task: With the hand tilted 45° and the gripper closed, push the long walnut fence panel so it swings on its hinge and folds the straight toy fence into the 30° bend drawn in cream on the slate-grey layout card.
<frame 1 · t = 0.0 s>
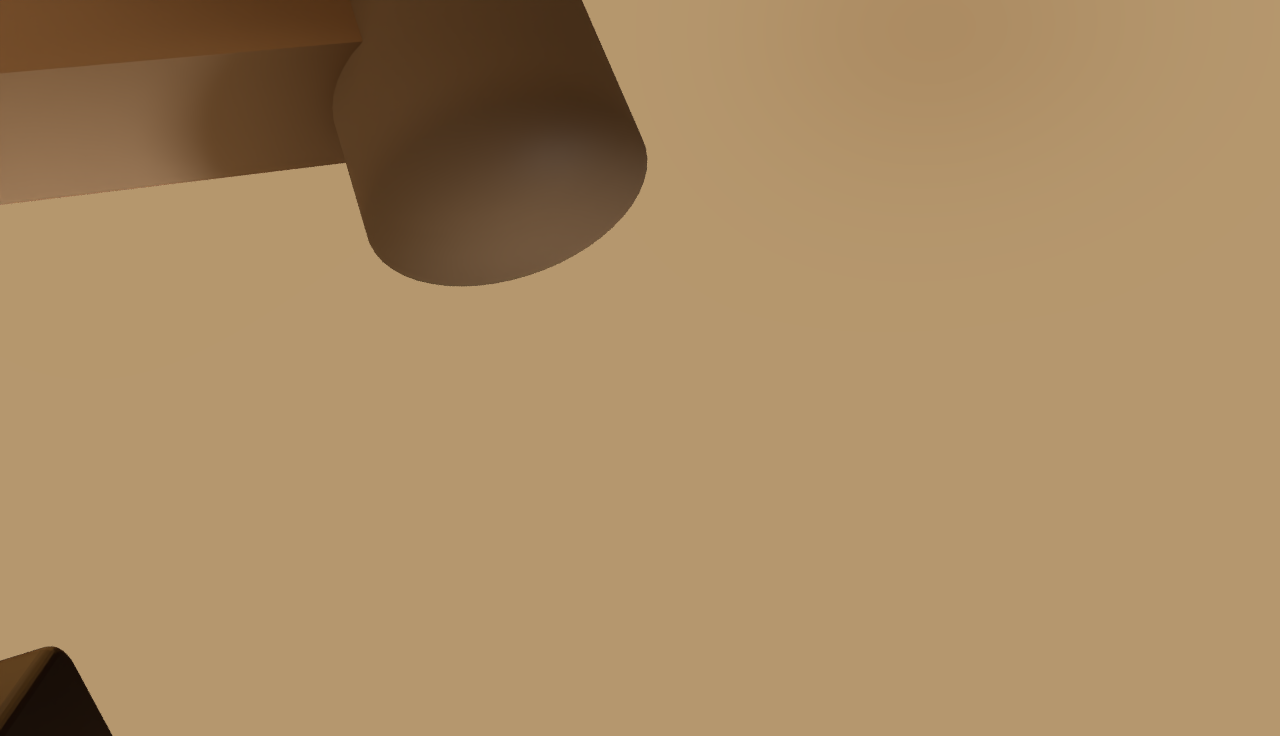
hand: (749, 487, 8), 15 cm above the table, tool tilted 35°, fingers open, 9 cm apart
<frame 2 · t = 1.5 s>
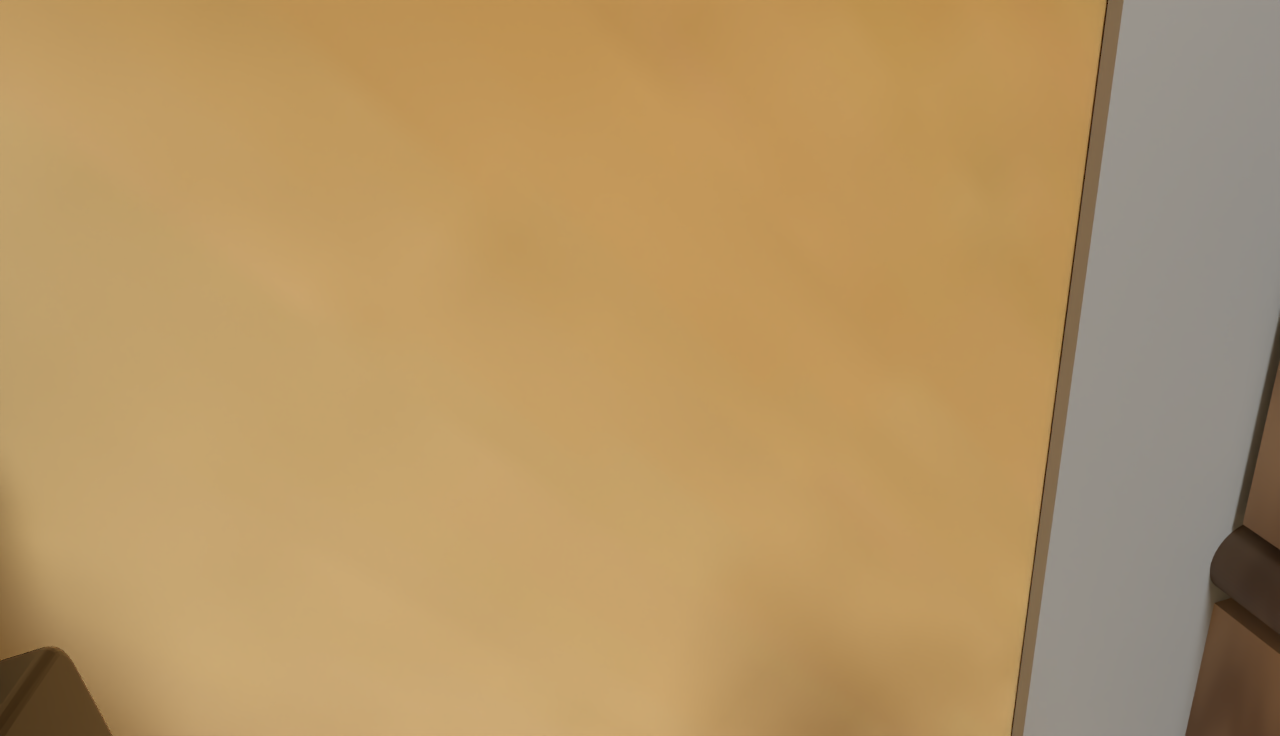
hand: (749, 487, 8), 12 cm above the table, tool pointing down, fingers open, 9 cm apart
fence fixed: (1230, 546, 30), resting on layout card
layout card: (1249, 461, 29), on the table
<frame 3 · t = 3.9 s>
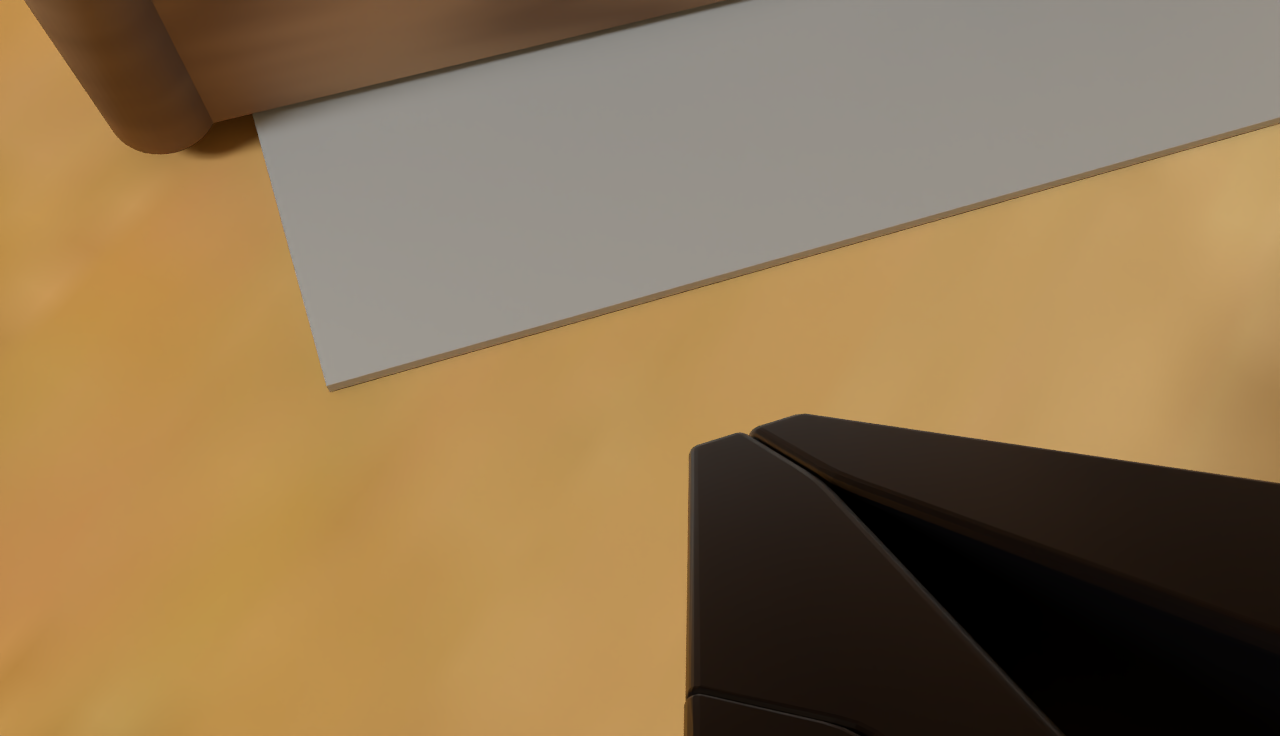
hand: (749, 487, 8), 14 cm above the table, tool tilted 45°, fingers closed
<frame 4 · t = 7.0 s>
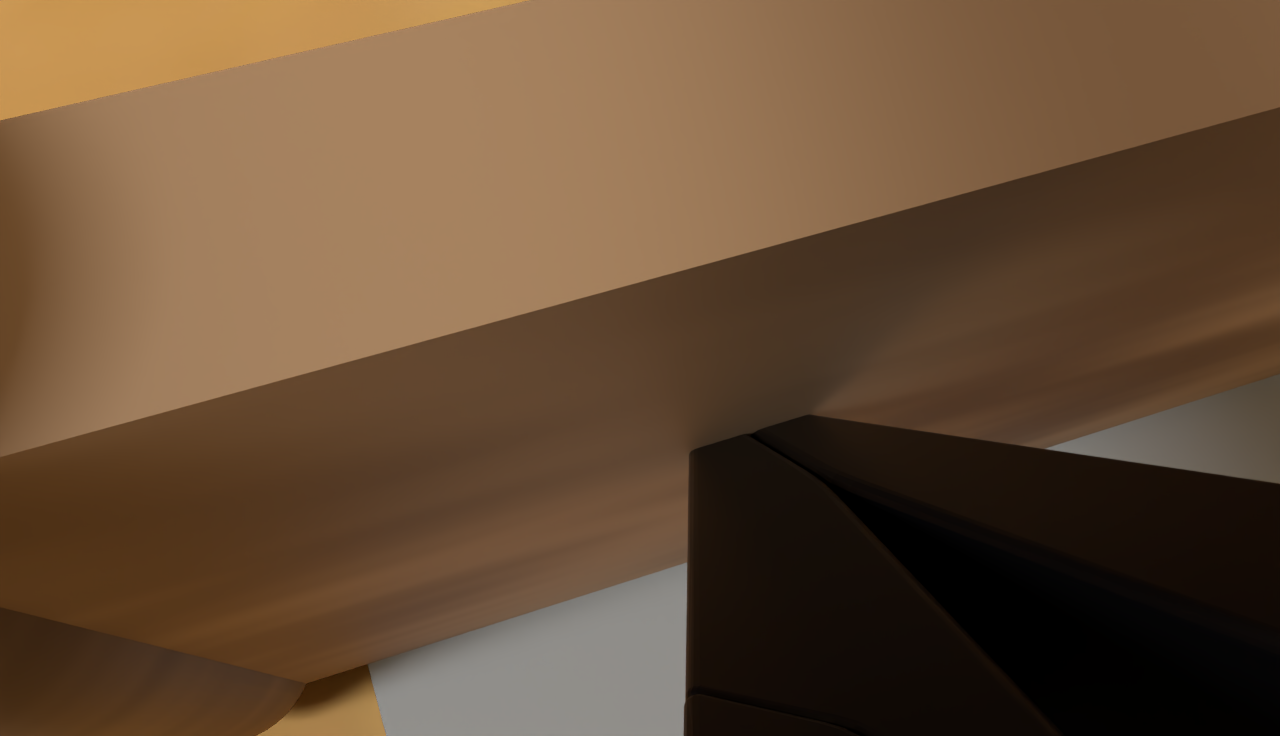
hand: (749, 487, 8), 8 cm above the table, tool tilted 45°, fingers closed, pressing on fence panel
fence panel: (941, 331, 10), point 7 cm above the table, hinge at -0.3°, touching gripper
layout card: (1223, 352, 17), on the table
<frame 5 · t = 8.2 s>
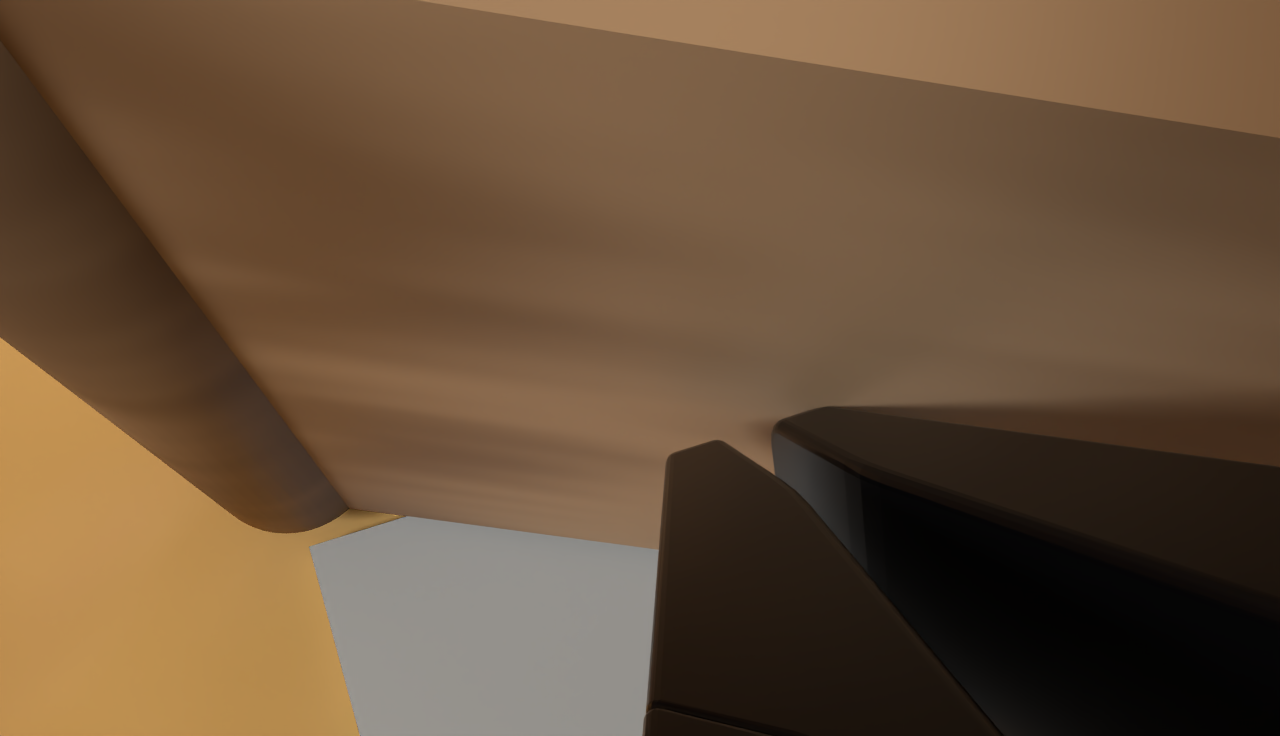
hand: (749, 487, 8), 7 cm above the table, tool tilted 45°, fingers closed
fence panel: (1090, 405, 9), point 7 cm above the table, hinge at -25.6°, touching gripper
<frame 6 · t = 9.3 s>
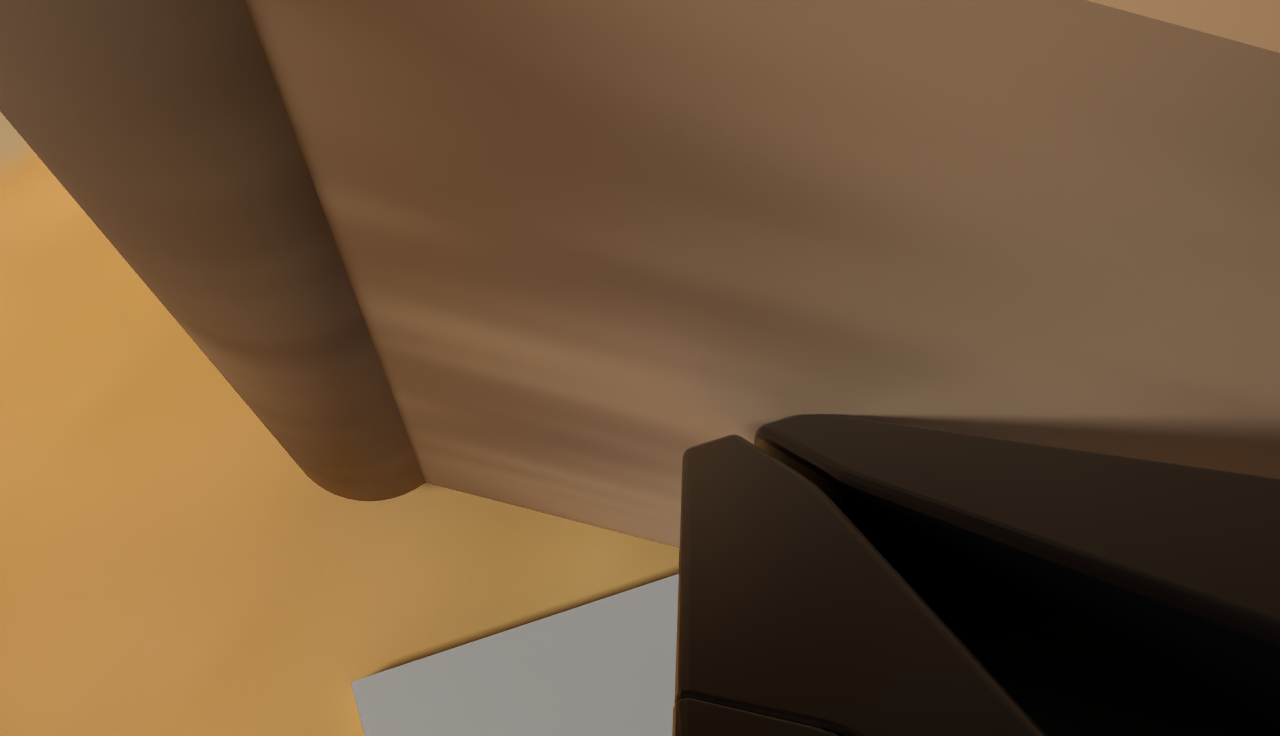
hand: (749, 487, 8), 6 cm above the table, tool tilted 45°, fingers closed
fence panel: (1261, 464, 9), point 7 cm above the table, hinge at -32.2°, touching gripper
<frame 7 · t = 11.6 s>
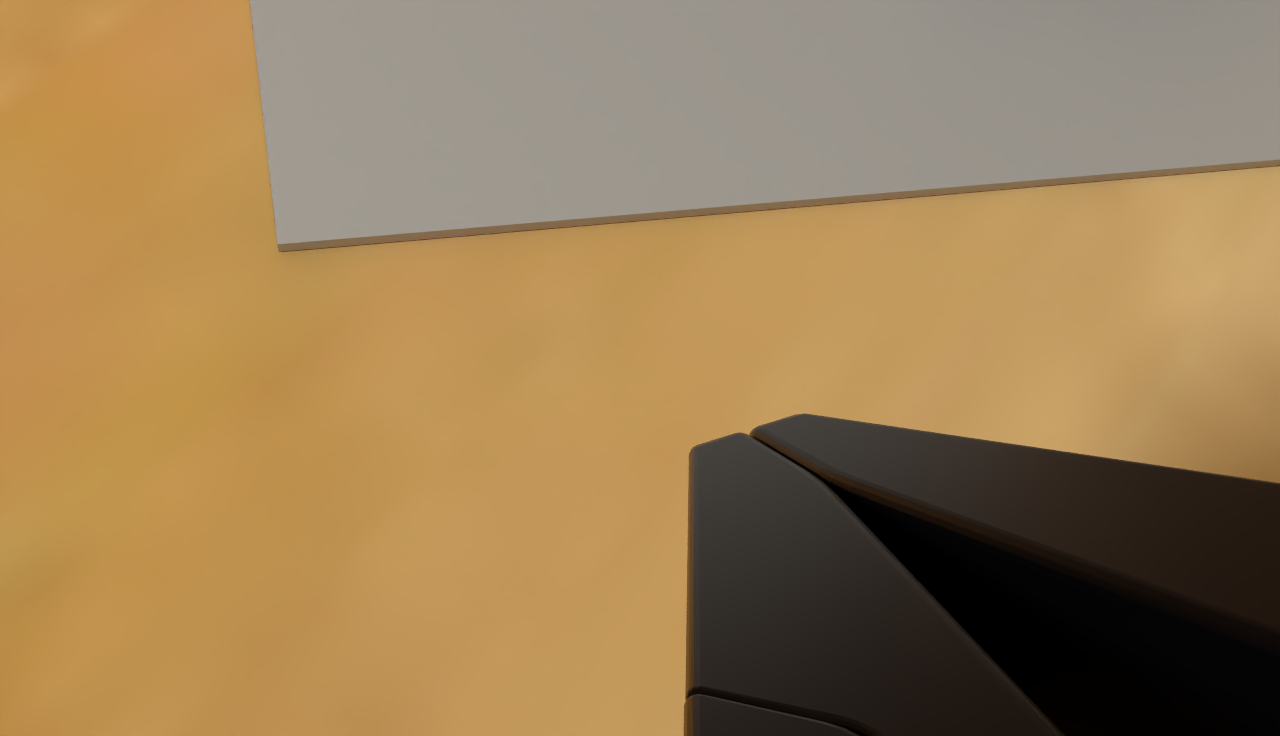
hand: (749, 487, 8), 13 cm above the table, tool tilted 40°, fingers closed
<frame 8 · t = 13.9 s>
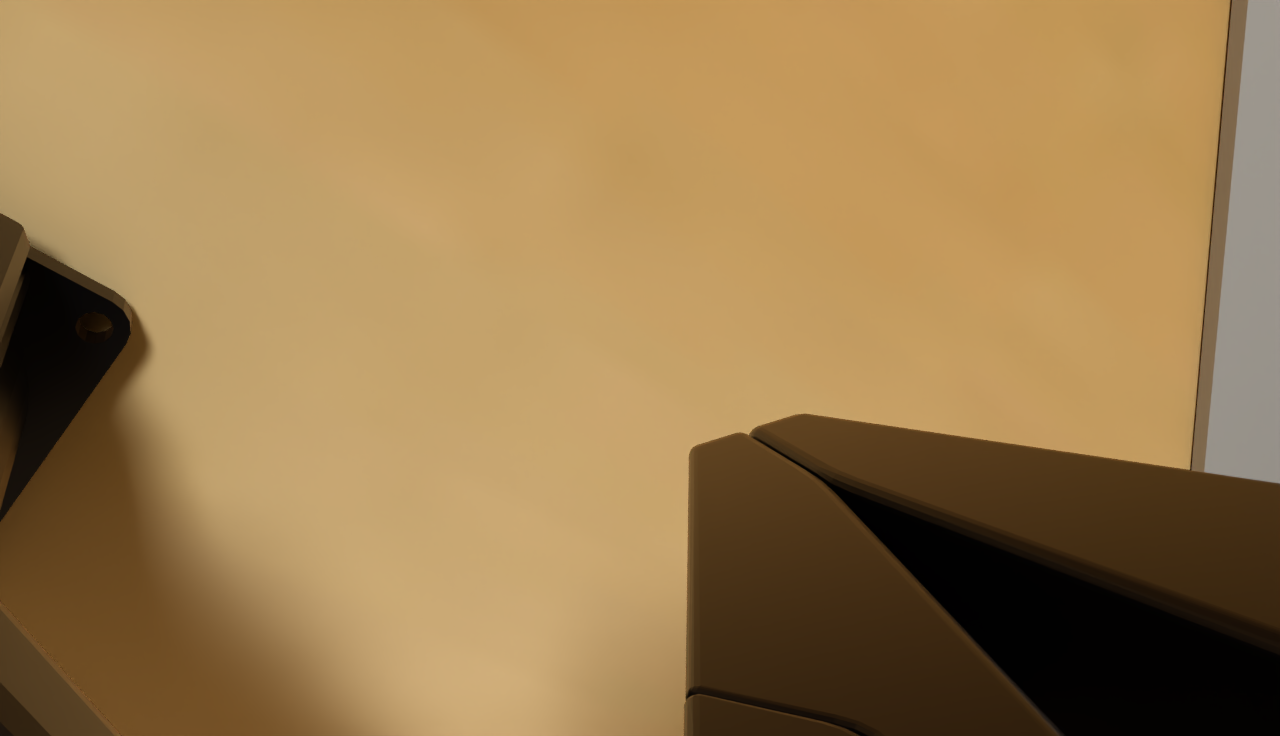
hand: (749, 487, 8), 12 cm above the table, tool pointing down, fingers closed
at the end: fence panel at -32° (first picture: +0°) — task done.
